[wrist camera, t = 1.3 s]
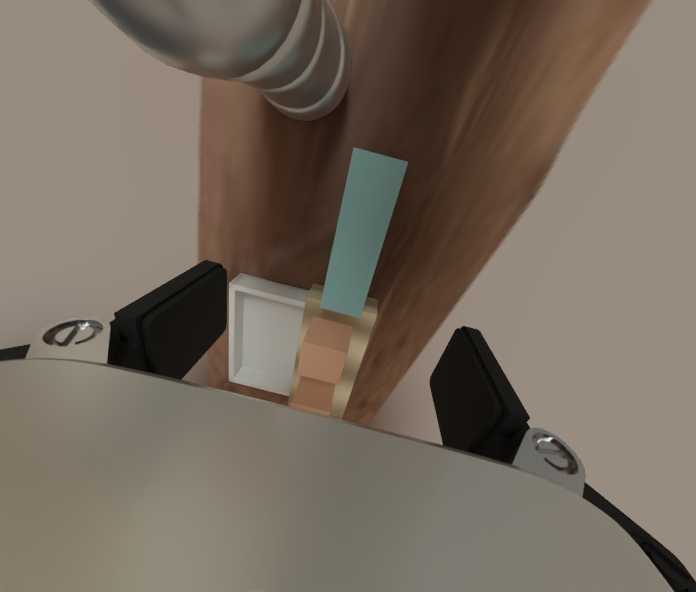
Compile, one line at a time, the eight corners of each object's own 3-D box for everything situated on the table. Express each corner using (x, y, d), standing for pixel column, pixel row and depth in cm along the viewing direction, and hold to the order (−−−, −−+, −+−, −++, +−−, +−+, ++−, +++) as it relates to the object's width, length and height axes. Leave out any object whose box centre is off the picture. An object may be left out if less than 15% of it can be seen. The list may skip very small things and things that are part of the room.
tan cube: (313, 316, 26) (302, 341, 22) (352, 326, 26) (347, 353, 22) (307, 346, 28) (296, 374, 24) (343, 356, 28) (338, 384, 24)
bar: (360, 149, 21) (353, 147, 16) (401, 160, 21) (408, 161, 16) (331, 278, 27) (319, 307, 22) (364, 286, 27) (360, 317, 22)
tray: (241, 273, 28) (229, 283, 26) (312, 291, 28) (306, 302, 26) (238, 366, 35) (228, 381, 32) (295, 381, 35) (289, 396, 33)
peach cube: (301, 373, 30) (291, 402, 26) (336, 381, 30) (330, 412, 26) (297, 396, 32) (287, 426, 28) (329, 404, 32) (323, 435, 28)
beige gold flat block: (313, 283, 27) (306, 296, 25) (377, 299, 28) (377, 314, 25) (294, 386, 35) (287, 404, 33) (344, 399, 35) (341, 418, 33)
